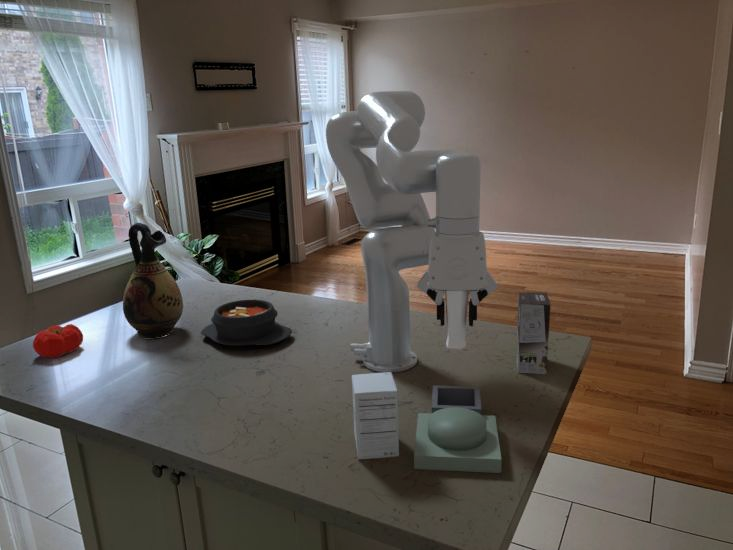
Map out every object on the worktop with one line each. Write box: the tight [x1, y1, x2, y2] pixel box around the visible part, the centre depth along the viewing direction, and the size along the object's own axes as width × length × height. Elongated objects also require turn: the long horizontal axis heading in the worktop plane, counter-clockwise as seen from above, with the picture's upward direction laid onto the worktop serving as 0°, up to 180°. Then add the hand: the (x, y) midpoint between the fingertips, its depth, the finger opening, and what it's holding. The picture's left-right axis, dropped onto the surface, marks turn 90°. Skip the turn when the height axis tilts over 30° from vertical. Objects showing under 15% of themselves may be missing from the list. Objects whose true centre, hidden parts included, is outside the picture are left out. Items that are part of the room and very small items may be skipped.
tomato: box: [32, 323, 84, 359], centre depth 151 cm, size 10×11×6 cm
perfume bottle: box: [444, 291, 470, 350], centre depth 109 cm, size 5×4×15 cm
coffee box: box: [515, 291, 552, 375], centre depth 133 cm, size 9×6×16 cm
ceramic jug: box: [122, 222, 184, 339], centre depth 160 cm, size 17×16×30 cm
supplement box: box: [351, 372, 400, 460], centre depth 103 cm, size 7×7×13 cm
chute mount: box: [413, 384, 502, 474], centre depth 107 cm, size 14×22×5 cm, turn 172°
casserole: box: [200, 299, 293, 347], centre depth 156 cm, size 25×19×8 cm
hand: (456, 322), depth 109 cm, fingers closed on perfume bottle, 4 cm apart
